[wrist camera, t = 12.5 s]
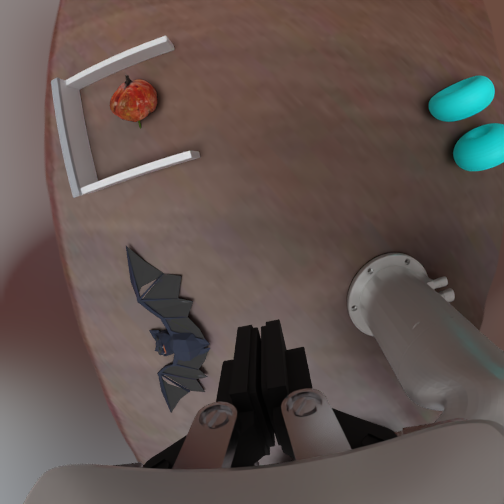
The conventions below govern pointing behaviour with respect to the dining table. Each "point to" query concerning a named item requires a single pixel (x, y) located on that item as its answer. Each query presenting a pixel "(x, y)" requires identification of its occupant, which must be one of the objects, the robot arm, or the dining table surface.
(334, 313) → the dining table surface
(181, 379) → the decorative bat
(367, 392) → the dining table surface
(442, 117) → the donuts
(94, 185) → the box
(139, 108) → the pomegranate
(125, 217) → the dining table surface
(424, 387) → the robot arm
